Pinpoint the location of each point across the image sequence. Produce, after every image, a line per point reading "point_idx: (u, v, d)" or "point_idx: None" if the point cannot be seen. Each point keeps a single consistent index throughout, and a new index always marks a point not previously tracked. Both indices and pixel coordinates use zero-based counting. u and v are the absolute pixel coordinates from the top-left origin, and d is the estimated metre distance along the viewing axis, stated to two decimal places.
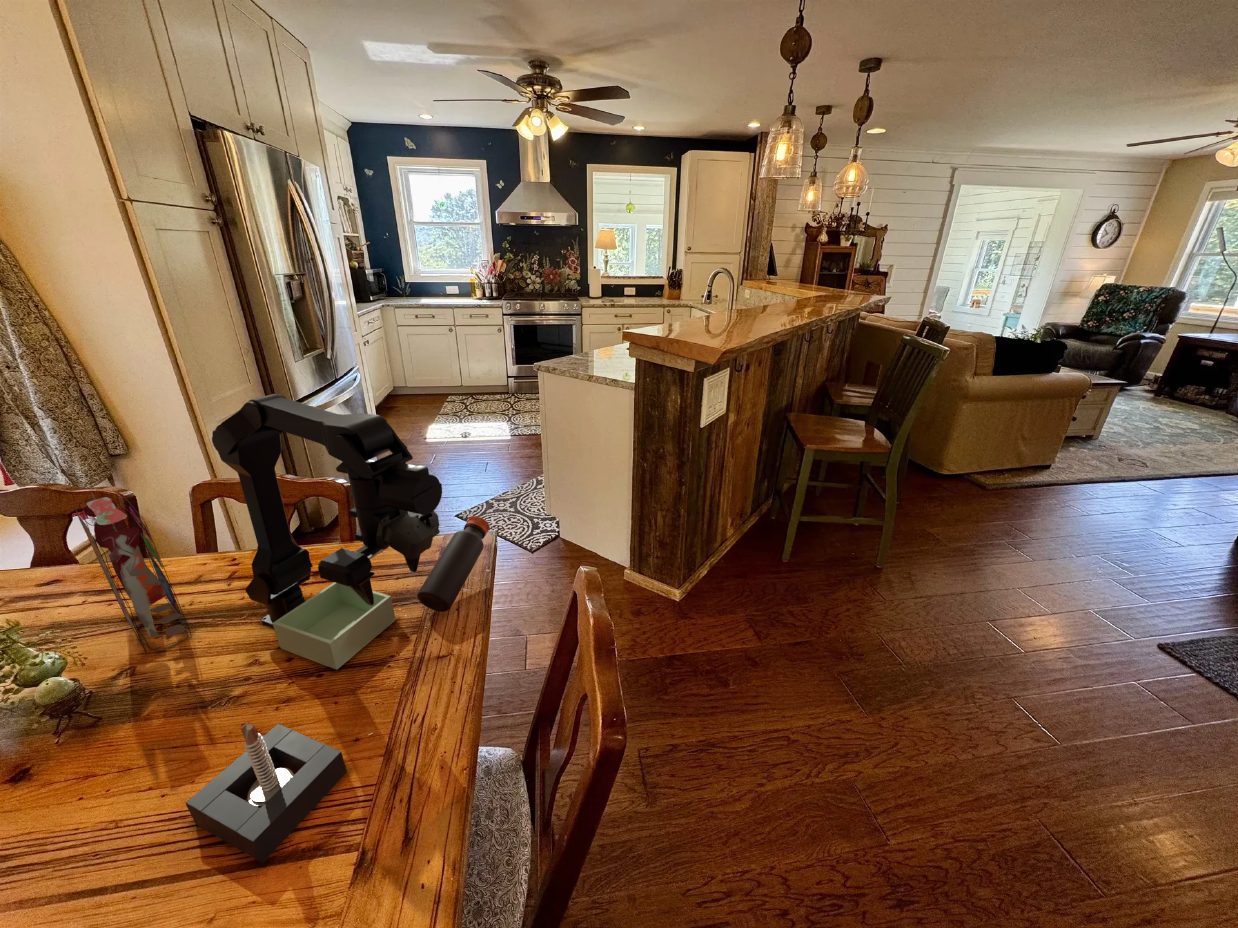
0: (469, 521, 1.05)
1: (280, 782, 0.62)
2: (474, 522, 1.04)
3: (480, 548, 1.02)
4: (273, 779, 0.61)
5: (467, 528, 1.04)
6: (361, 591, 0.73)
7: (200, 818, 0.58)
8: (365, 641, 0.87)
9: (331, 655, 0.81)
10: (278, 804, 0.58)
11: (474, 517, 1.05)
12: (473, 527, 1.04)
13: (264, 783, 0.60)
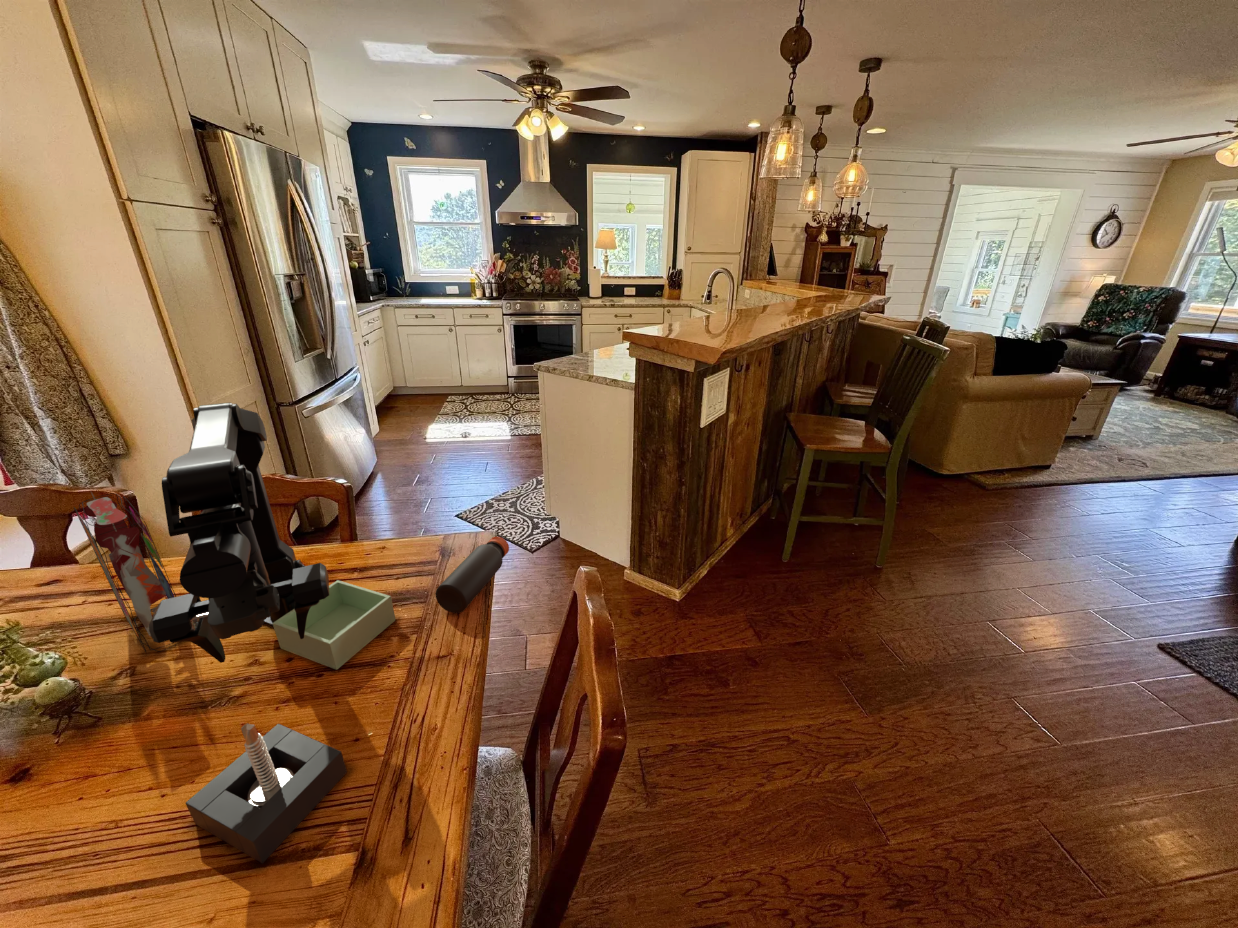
0: (499, 541, 1.09)
1: (280, 782, 0.62)
2: (503, 545, 1.09)
3: None
4: (273, 779, 0.61)
5: (496, 547, 1.08)
6: None
7: (200, 818, 0.58)
8: (365, 641, 0.87)
9: (331, 655, 0.81)
10: (278, 804, 0.58)
11: (504, 540, 1.10)
12: (500, 549, 1.08)
13: (264, 783, 0.60)
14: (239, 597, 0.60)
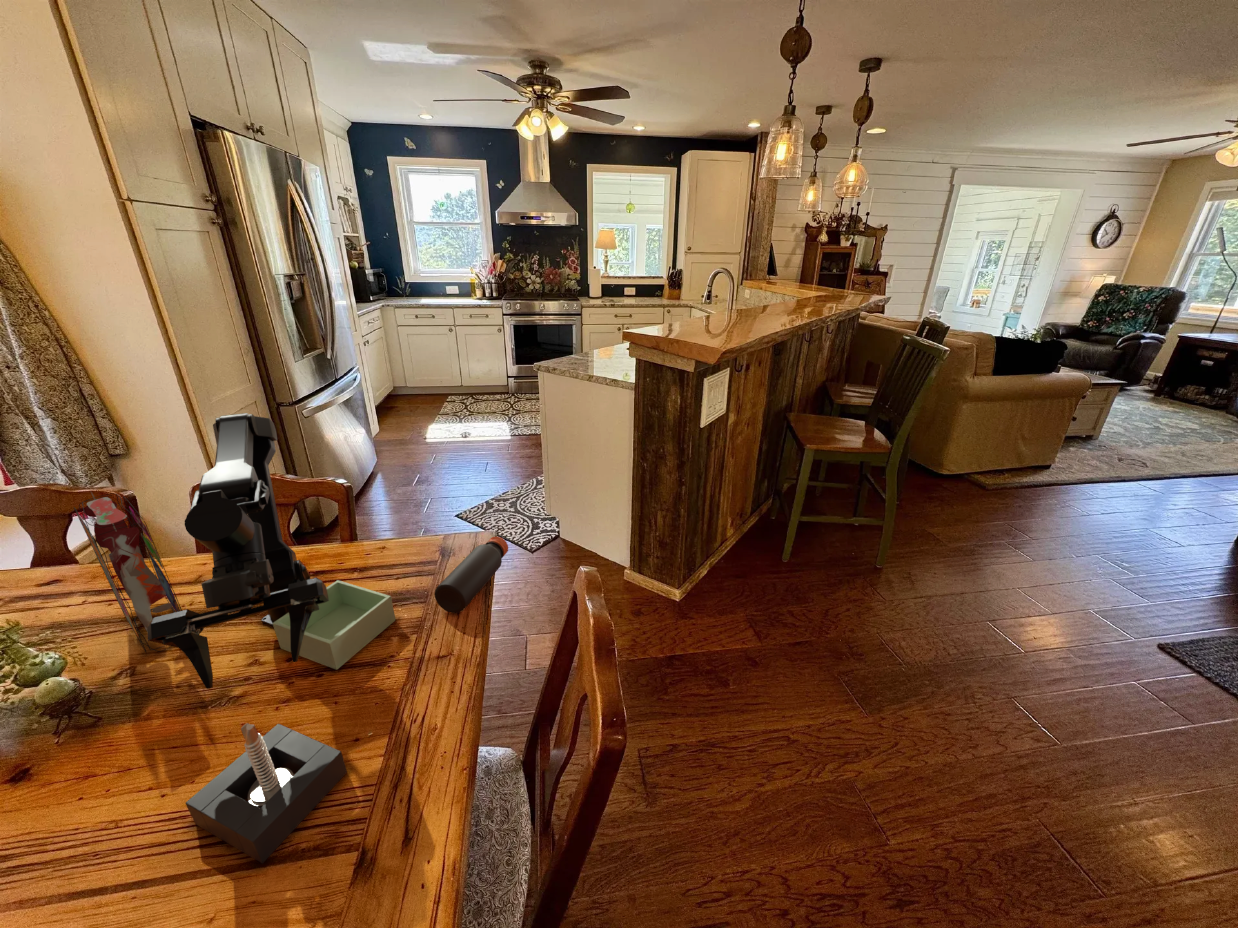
0: (498, 541, 1.09)
1: (280, 782, 0.62)
2: (502, 545, 1.09)
3: None
4: (273, 779, 0.61)
5: (494, 546, 1.08)
6: None
7: (200, 818, 0.58)
8: (365, 641, 0.87)
9: (331, 655, 0.81)
10: (278, 804, 0.58)
11: (503, 540, 1.10)
12: (499, 549, 1.08)
13: (264, 783, 0.60)
14: (236, 573, 0.63)
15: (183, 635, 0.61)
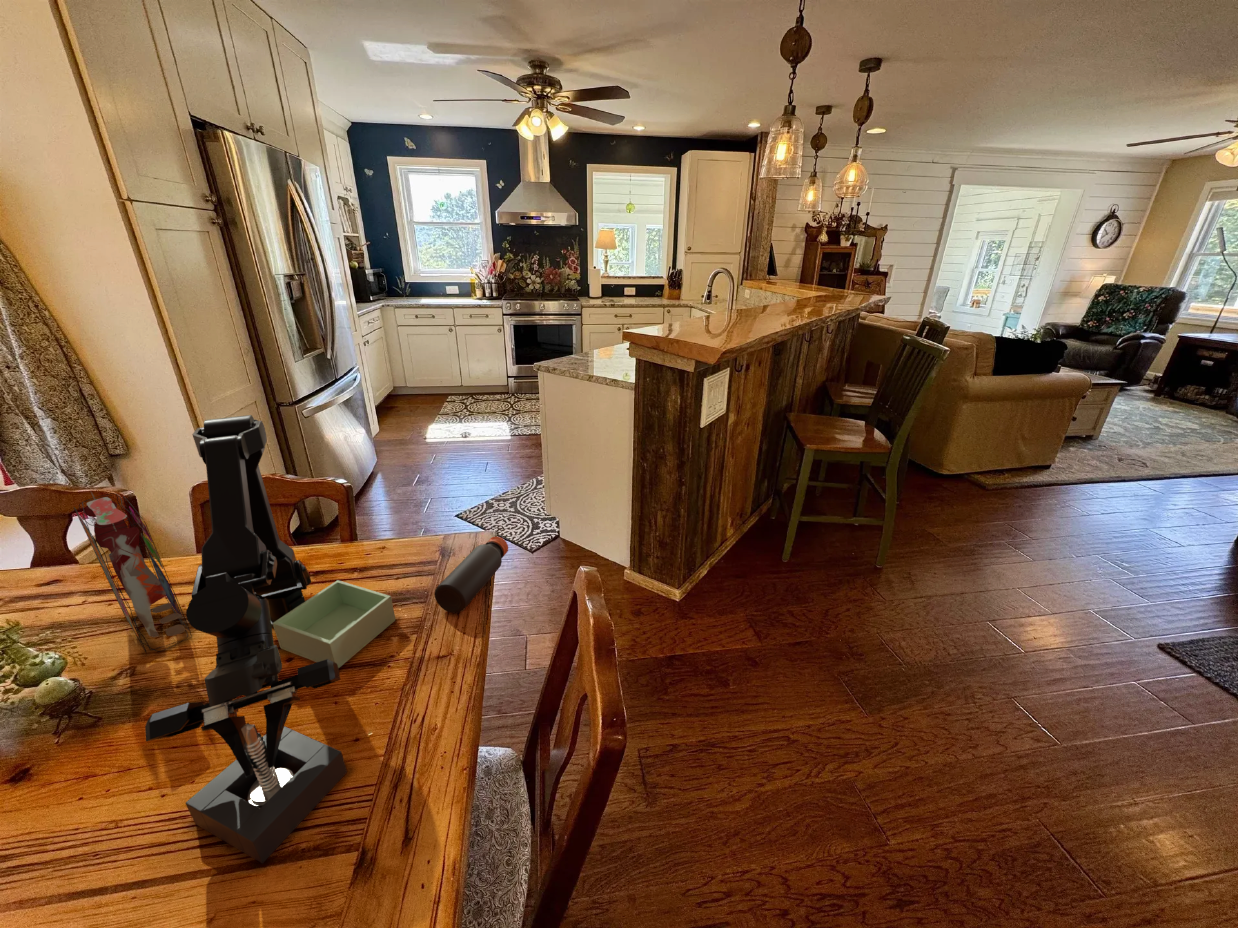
0: (498, 541, 1.09)
1: (280, 782, 0.62)
2: (502, 545, 1.09)
3: None
4: (273, 779, 0.61)
5: (494, 546, 1.08)
6: None
7: (200, 818, 0.58)
8: (365, 641, 0.87)
9: (331, 655, 0.81)
10: (278, 804, 0.58)
11: (503, 540, 1.10)
12: (499, 549, 1.08)
13: (264, 783, 0.60)
14: (241, 662, 0.58)
15: (222, 720, 0.57)
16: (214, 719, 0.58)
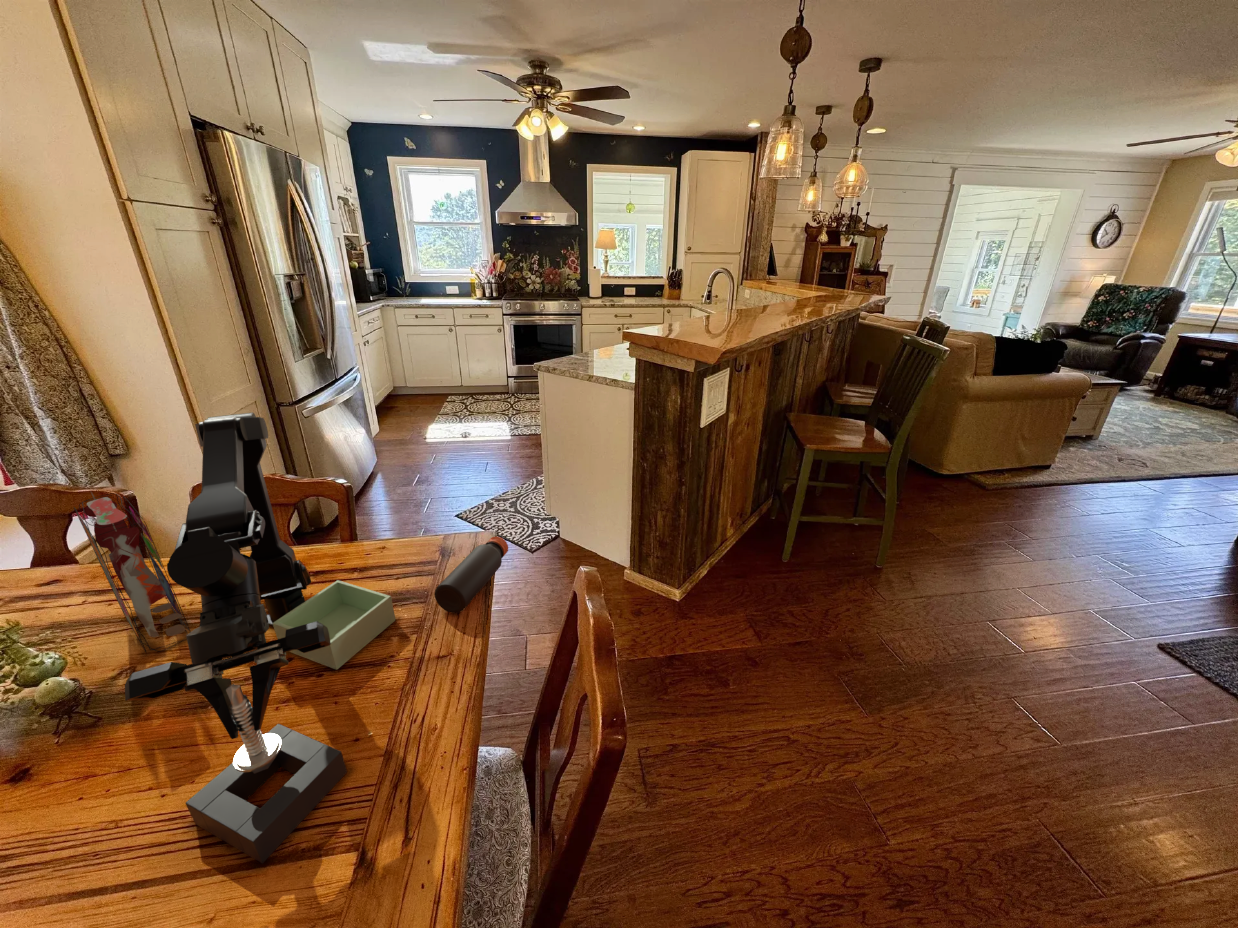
0: (498, 541, 1.09)
1: (267, 747, 0.60)
2: (502, 545, 1.09)
3: None
4: (260, 744, 0.59)
5: (494, 546, 1.08)
6: None
7: (200, 818, 0.58)
8: (365, 641, 0.87)
9: (331, 655, 0.81)
10: (278, 804, 0.58)
11: (503, 540, 1.10)
12: (499, 549, 1.08)
13: (250, 747, 0.58)
14: (226, 621, 0.56)
15: (206, 681, 0.55)
16: (198, 679, 0.56)
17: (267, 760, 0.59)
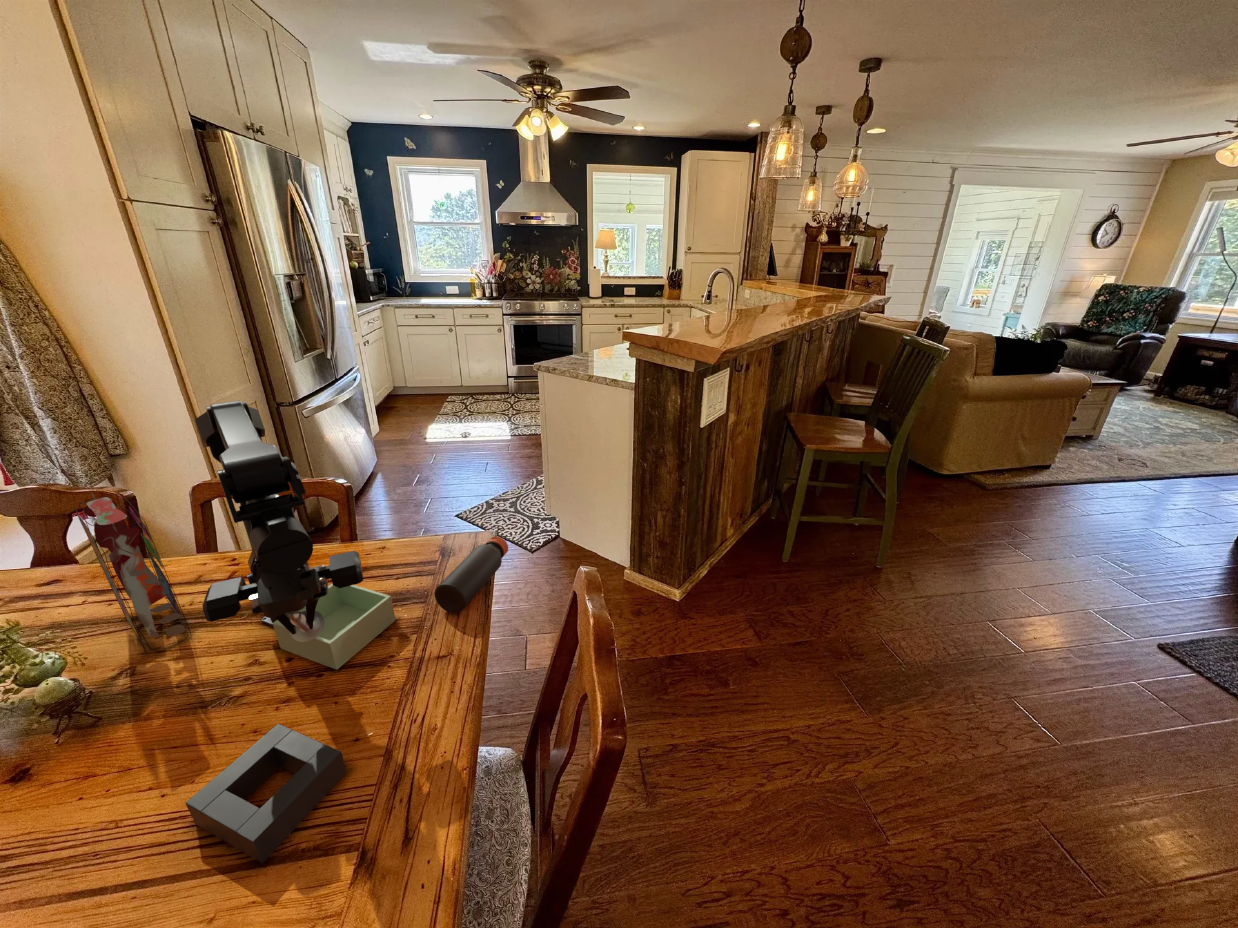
0: (498, 541, 1.09)
1: (314, 625, 0.78)
2: (502, 545, 1.09)
3: None
4: None
5: (494, 546, 1.08)
6: None
7: (200, 818, 0.58)
8: (365, 641, 0.87)
9: (331, 655, 0.81)
10: (278, 804, 0.58)
11: (503, 540, 1.10)
12: (499, 549, 1.08)
13: None
14: (284, 579, 0.65)
15: None
16: None
17: (316, 635, 0.78)
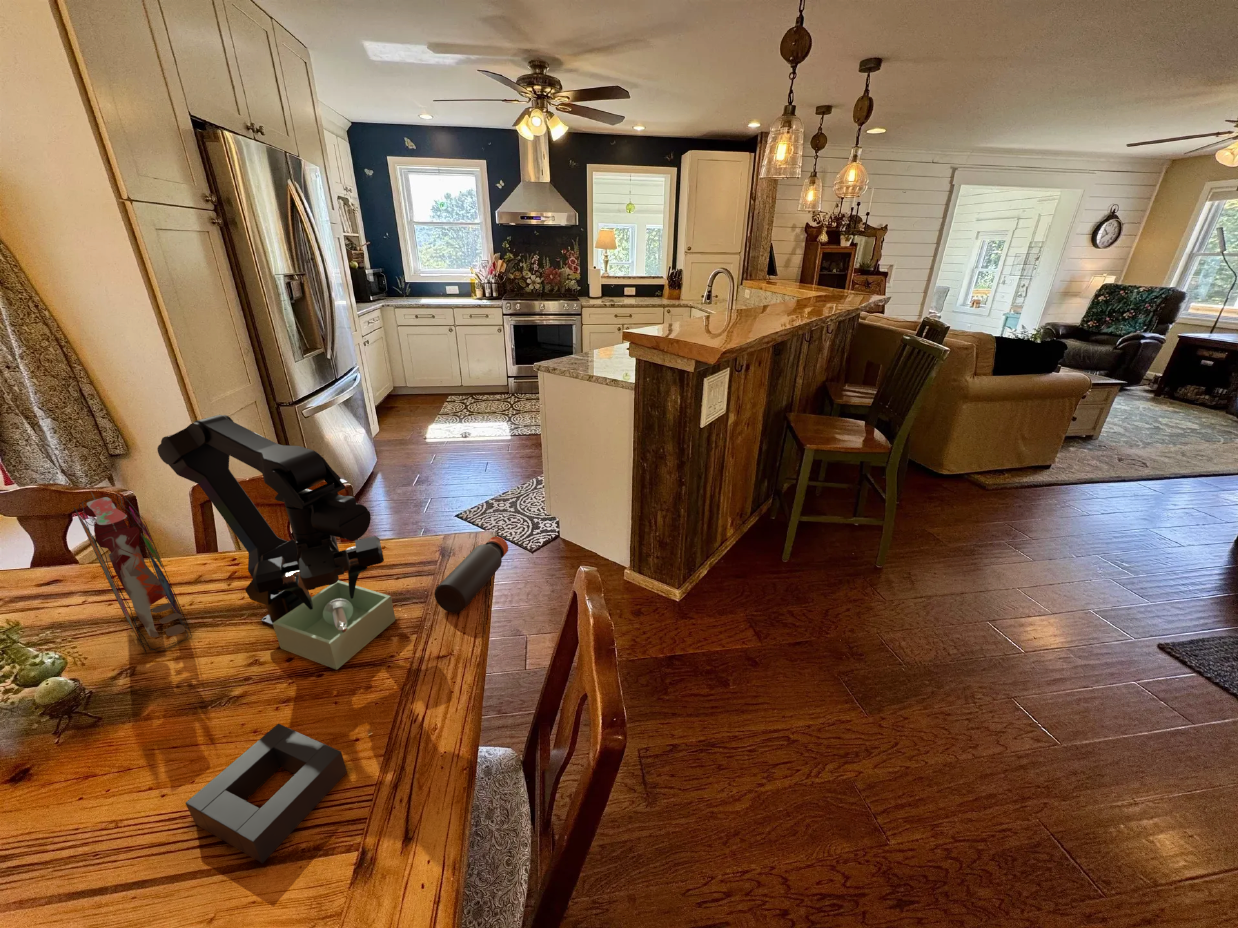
0: (498, 541, 1.09)
1: (345, 612, 0.91)
2: (502, 545, 1.09)
3: None
4: None
5: (494, 546, 1.08)
6: None
7: (200, 818, 0.58)
8: (365, 641, 0.87)
9: (331, 655, 0.81)
10: (278, 804, 0.58)
11: (503, 540, 1.10)
12: (499, 549, 1.08)
13: None
14: (321, 558, 0.78)
15: (293, 587, 0.80)
16: (285, 583, 0.80)
17: (346, 620, 0.91)
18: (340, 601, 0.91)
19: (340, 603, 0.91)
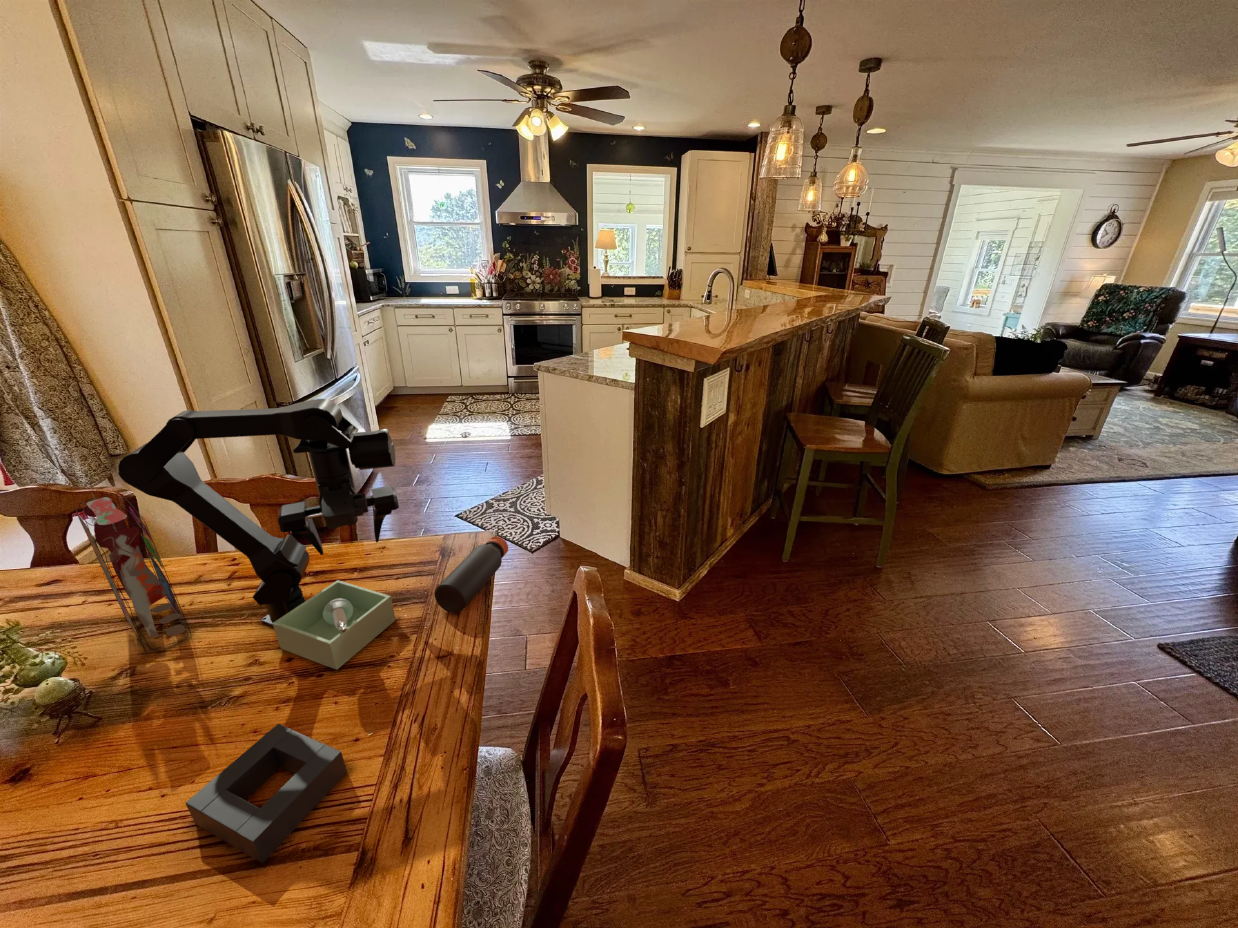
0: (498, 541, 1.09)
1: (345, 612, 0.91)
2: (502, 545, 1.09)
3: None
4: None
5: (494, 546, 1.08)
6: None
7: (200, 818, 0.58)
8: (365, 641, 0.87)
9: (331, 655, 0.81)
10: (278, 804, 0.58)
11: (503, 540, 1.10)
12: (499, 549, 1.08)
13: None
14: (341, 500, 0.84)
15: (305, 530, 0.85)
16: None
17: (346, 620, 0.91)
18: (340, 601, 0.91)
19: (340, 603, 0.91)
